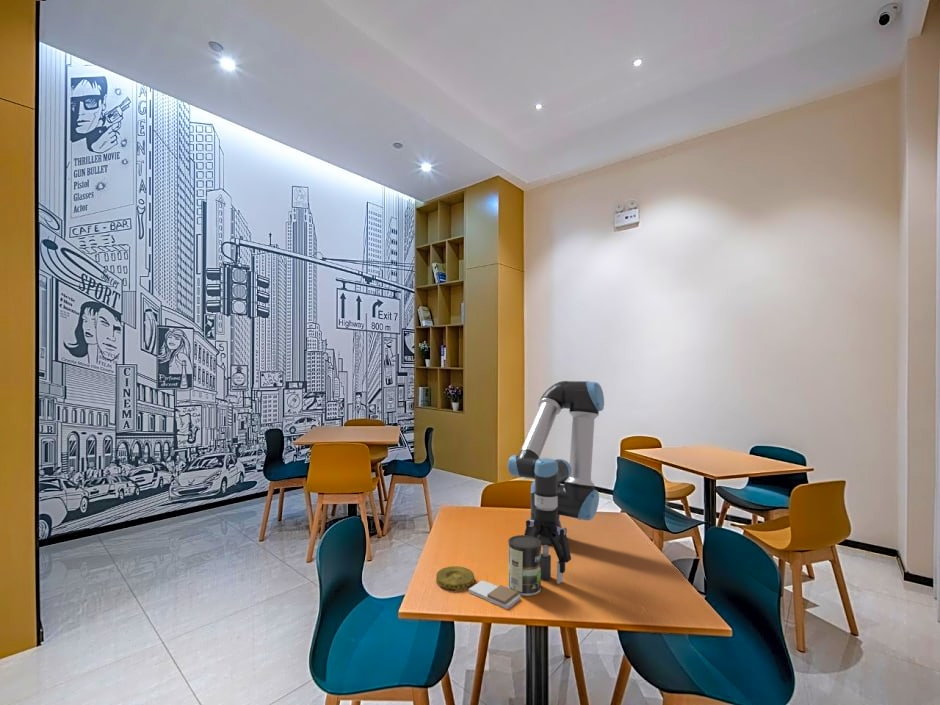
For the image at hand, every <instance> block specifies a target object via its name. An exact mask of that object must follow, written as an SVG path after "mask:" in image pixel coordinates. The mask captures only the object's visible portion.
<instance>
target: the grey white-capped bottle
mask: <svg viewBox="0 0 940 705" xmlns="http://www.w3.org/2000/svg"><path fill="white" fill-rule="evenodd" d="M549 548H550V547H549V545H546V544H542V553H541V580H543V581H549V580H551V578H552V575H551V574H552V569H551V568H552V565H551V564H552V555H551V554H550V550H549Z"/></svg>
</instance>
